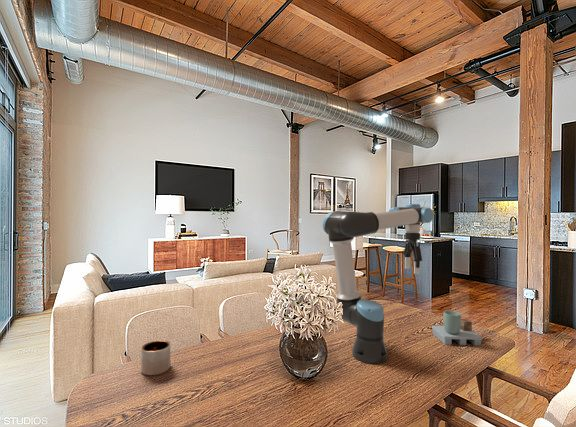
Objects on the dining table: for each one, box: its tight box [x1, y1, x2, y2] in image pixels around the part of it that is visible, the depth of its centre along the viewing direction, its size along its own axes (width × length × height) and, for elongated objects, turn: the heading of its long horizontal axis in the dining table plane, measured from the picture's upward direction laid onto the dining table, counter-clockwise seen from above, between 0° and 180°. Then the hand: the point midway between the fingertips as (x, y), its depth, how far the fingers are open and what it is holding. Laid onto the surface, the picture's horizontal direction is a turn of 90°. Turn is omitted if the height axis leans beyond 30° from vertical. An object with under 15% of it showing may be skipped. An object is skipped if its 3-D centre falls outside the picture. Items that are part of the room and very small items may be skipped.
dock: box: [431, 325, 483, 346], centre depth 157 cm, size 18×14×4 cm
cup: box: [442, 309, 462, 334], centre depth 155 cm, size 8×8×10 cm
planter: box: [140, 339, 171, 377], centre depth 125 cm, size 11×11×10 cm
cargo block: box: [461, 318, 473, 331], centre depth 160 cm, size 4×4×4 cm
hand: (412, 271), depth 169 cm, fingers open, 13 cm apart
